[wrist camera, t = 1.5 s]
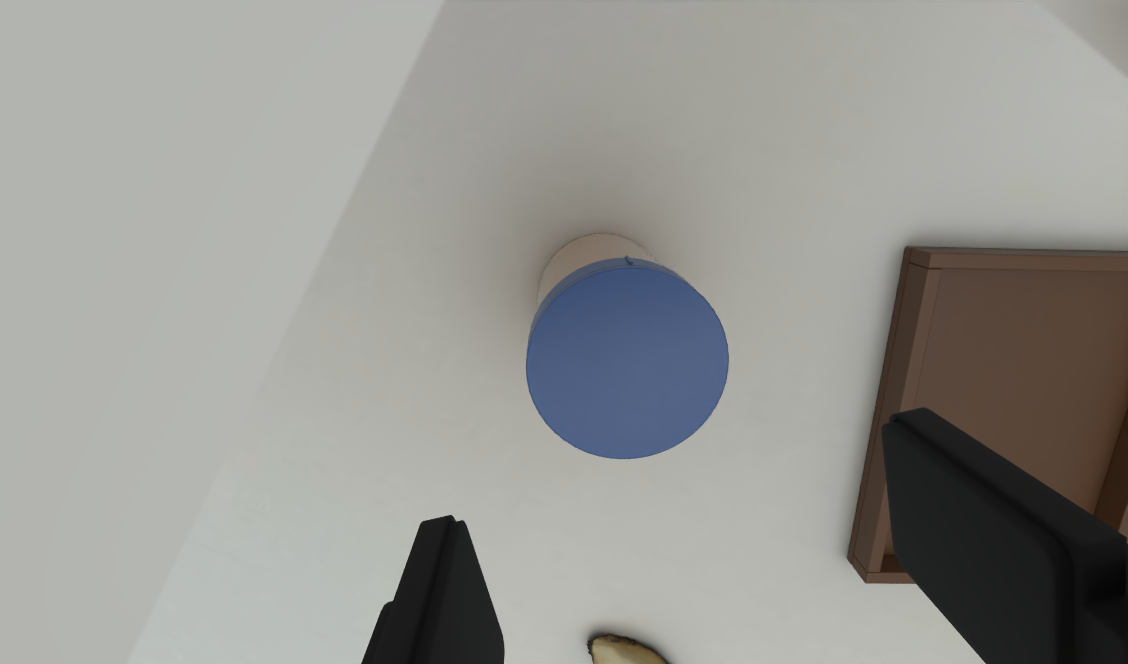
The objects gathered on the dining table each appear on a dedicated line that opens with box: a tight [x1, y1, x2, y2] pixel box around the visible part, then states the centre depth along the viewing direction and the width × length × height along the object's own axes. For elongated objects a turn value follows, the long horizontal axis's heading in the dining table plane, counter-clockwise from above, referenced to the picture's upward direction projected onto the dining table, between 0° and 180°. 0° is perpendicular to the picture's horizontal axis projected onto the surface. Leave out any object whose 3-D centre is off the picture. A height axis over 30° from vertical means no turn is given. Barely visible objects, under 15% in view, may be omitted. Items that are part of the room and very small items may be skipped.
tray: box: [847, 246, 1128, 584], centre depth 30 cm, size 17×13×2 cm
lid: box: [526, 255, 729, 459], centre depth 20 cm, size 6×6×2 cm
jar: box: [537, 233, 659, 310], centre depth 24 cm, size 6×6×10 cm
